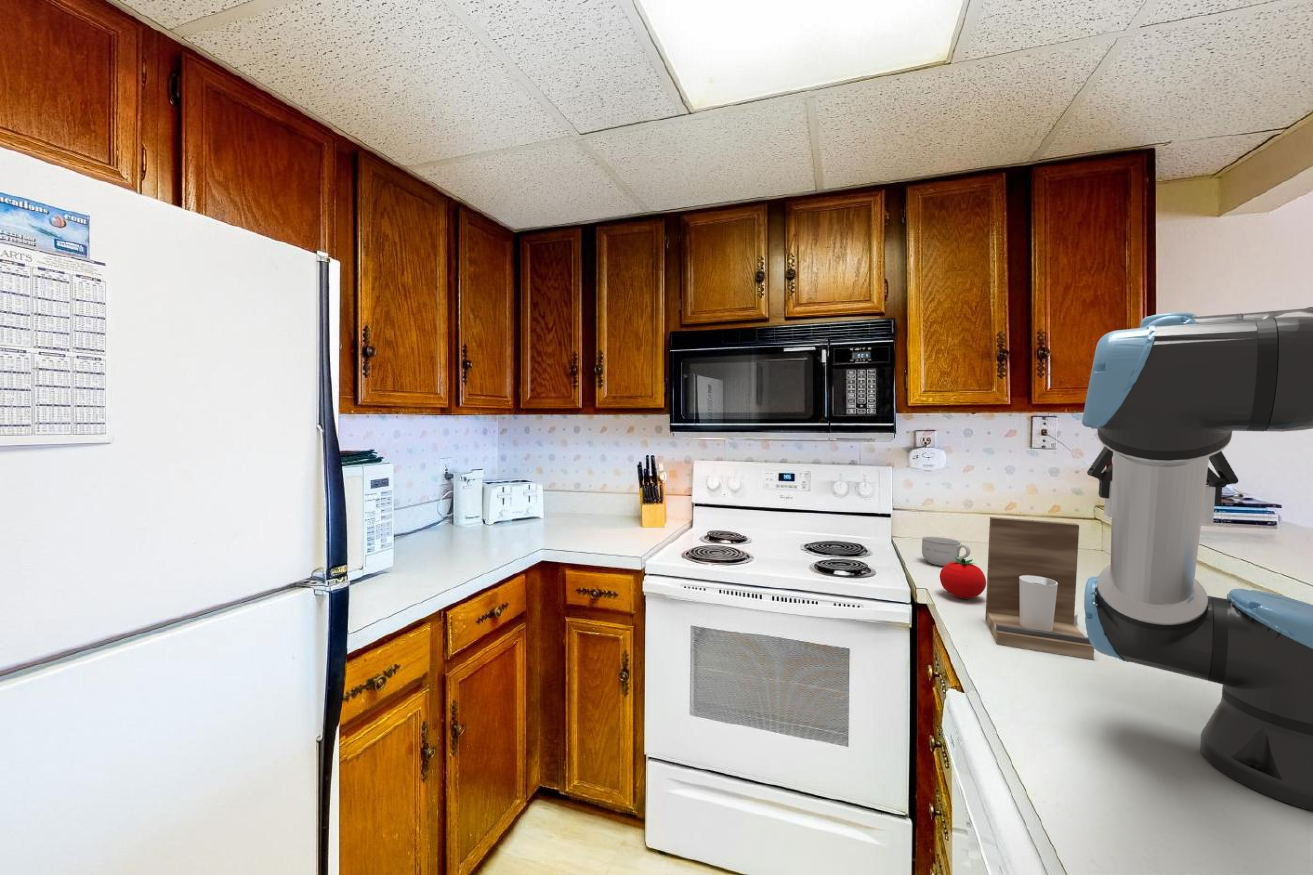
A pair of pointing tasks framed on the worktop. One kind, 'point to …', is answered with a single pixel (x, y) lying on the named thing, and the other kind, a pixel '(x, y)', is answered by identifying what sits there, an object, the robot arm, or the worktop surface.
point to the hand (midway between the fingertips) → (1156, 519)
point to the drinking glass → (1037, 602)
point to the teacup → (942, 550)
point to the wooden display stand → (1035, 554)
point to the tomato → (962, 579)
